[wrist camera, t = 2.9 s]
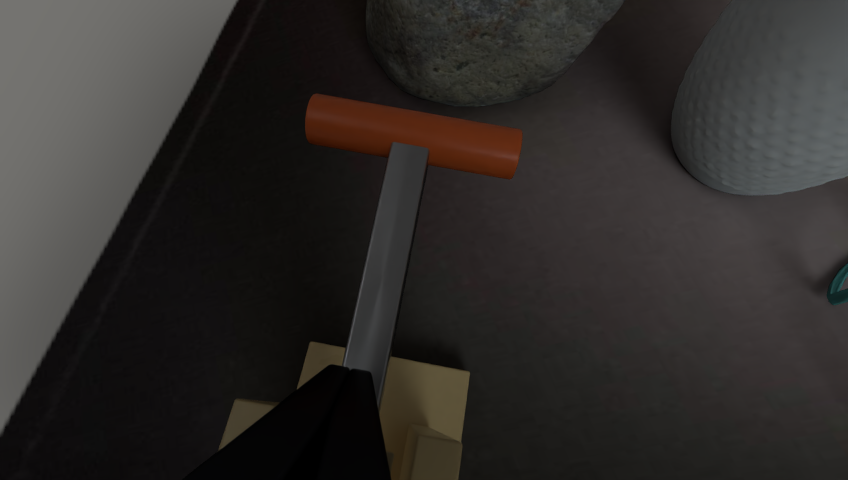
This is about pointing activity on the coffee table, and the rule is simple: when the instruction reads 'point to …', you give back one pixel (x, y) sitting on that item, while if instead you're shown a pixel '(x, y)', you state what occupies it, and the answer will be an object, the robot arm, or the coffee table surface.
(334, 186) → the coffee table surface
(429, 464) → the bracket
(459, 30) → the stone
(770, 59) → the mug
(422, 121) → the lever
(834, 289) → the sunglasses
